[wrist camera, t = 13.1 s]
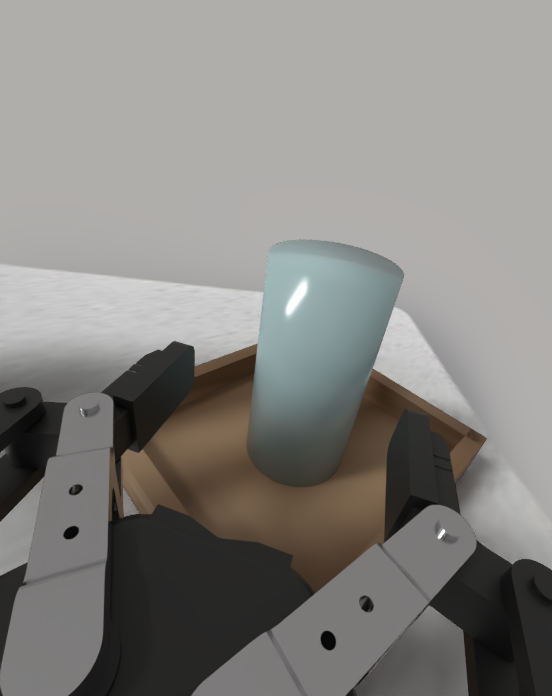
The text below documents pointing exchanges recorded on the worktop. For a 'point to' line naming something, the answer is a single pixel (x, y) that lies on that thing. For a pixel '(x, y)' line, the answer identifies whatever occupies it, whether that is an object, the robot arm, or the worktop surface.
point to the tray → (267, 495)
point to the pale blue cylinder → (315, 354)
